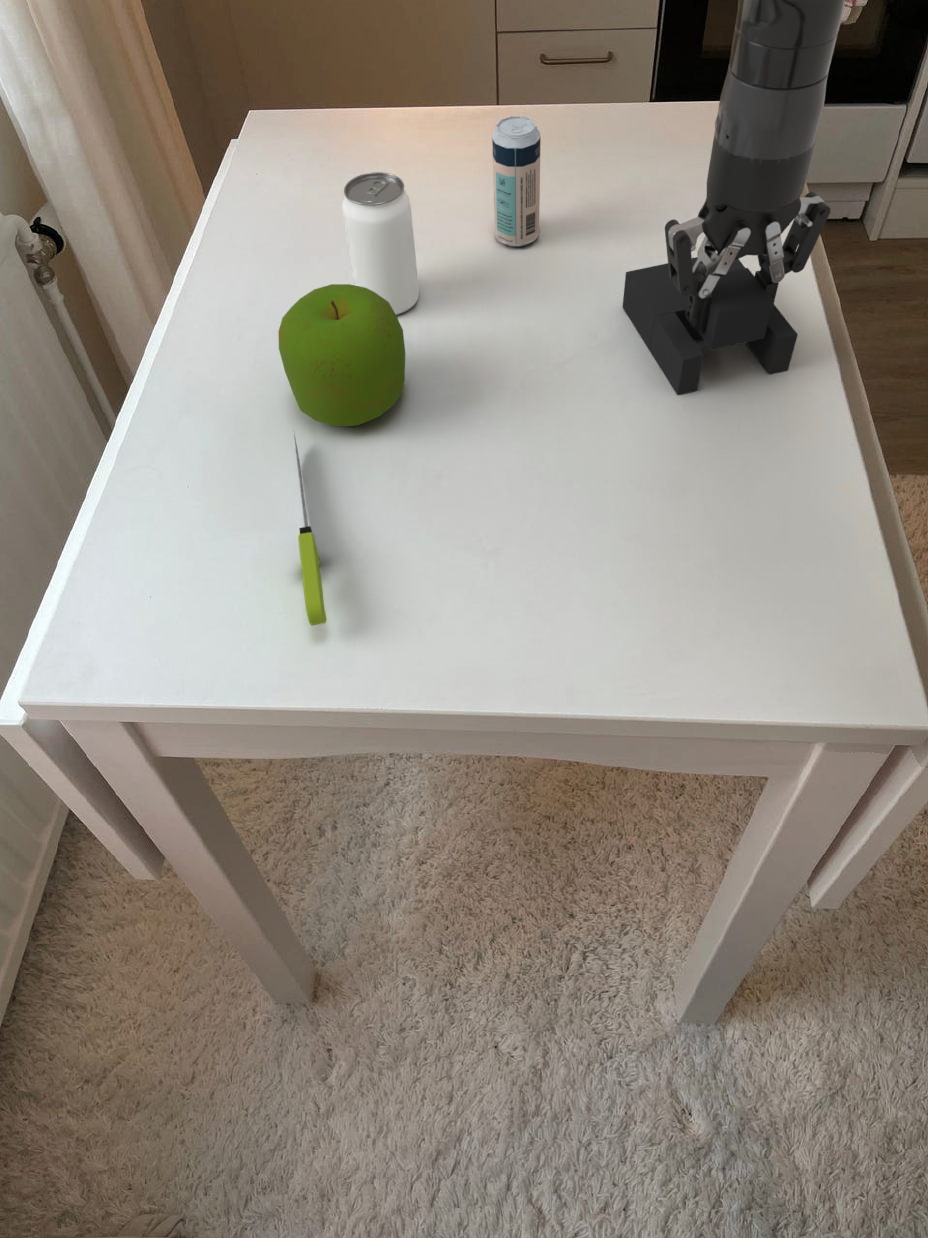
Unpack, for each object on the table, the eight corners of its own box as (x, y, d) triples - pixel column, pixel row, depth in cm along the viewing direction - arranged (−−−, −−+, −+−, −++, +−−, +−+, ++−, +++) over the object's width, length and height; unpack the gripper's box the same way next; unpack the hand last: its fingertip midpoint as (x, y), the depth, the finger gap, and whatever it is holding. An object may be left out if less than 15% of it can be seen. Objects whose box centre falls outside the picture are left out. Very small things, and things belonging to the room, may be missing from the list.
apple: (406, 439, 85) (393, 338, 77) (287, 442, 86) (261, 342, 77) (412, 360, 92) (401, 258, 83) (302, 363, 92) (279, 262, 84)
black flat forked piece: (788, 370, 88) (798, 334, 85) (677, 395, 87) (683, 359, 84) (724, 285, 97) (731, 249, 93) (622, 306, 95) (625, 271, 92)
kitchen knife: (292, 456, 86) (285, 429, 84) (306, 454, 87) (300, 427, 84) (313, 639, 72) (305, 612, 70) (330, 635, 72) (322, 609, 70)
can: (346, 311, 97) (327, 200, 87) (373, 276, 100) (357, 164, 91) (404, 324, 95) (391, 211, 86) (429, 287, 99) (419, 175, 89)
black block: (739, 305, 88) (747, 266, 85) (764, 338, 85) (774, 300, 82) (687, 316, 88) (693, 278, 85) (710, 350, 85) (717, 312, 82)
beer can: (540, 225, 105) (541, 113, 95) (537, 249, 102) (539, 137, 92) (496, 224, 105) (493, 113, 95) (493, 249, 102) (490, 137, 93)
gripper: (697, 171, 69) (668, 361, 83) (877, 136, 71) (820, 328, 85) (658, 124, 74) (637, 311, 87) (828, 91, 75) (781, 281, 89)
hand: (727, 319), depth 86 cm, fingers closed on black block, 5 cm apart
